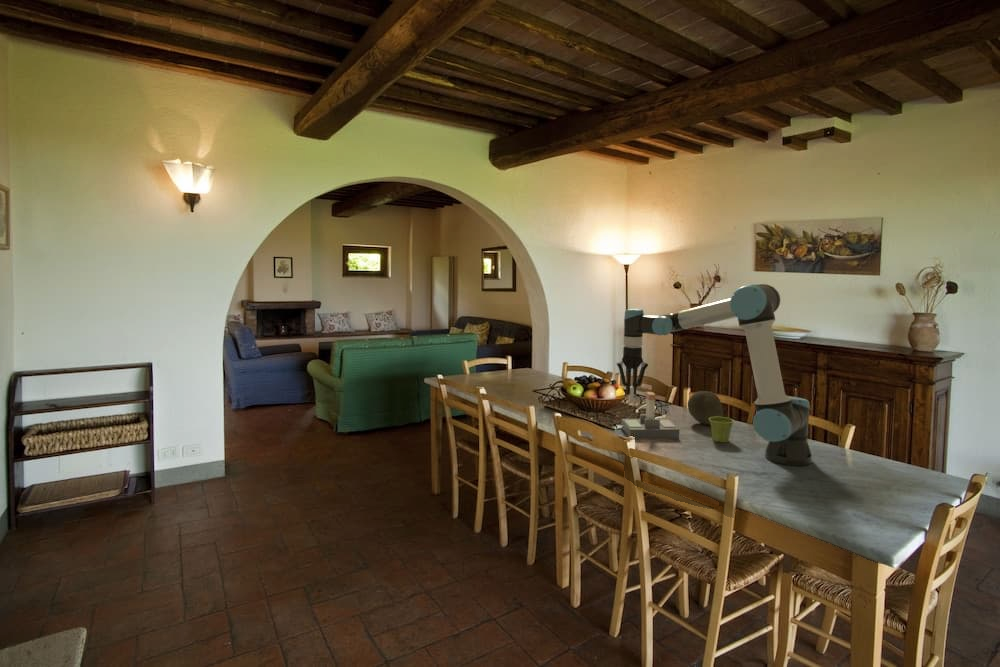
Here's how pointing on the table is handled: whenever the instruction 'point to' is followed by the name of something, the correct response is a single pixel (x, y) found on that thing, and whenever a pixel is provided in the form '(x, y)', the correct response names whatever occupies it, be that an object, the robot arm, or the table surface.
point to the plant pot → (721, 428)
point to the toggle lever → (650, 405)
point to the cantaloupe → (704, 406)
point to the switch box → (650, 428)
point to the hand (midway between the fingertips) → (630, 402)
